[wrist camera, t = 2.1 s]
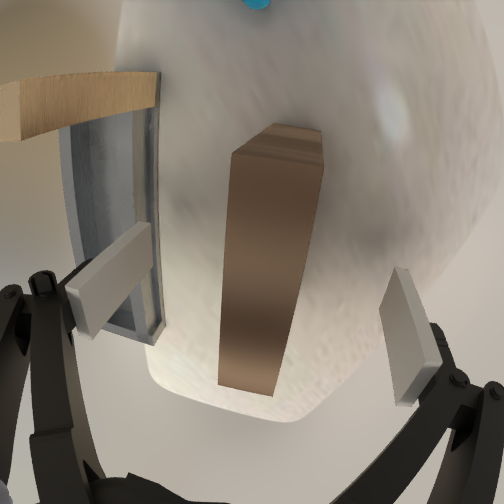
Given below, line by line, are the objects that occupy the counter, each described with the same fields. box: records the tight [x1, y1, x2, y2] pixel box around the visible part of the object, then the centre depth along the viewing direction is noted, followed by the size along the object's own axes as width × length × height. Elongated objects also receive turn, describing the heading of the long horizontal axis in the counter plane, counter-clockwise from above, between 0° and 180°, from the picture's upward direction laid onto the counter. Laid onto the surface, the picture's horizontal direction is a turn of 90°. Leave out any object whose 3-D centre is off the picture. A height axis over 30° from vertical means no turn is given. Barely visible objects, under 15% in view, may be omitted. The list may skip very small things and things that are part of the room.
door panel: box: [218, 124, 324, 397], centre depth 17 cm, size 12×3×10 cm, turn 174°
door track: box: [0, 72, 166, 346], centre depth 19 cm, size 22×7×12 cm, turn 174°
